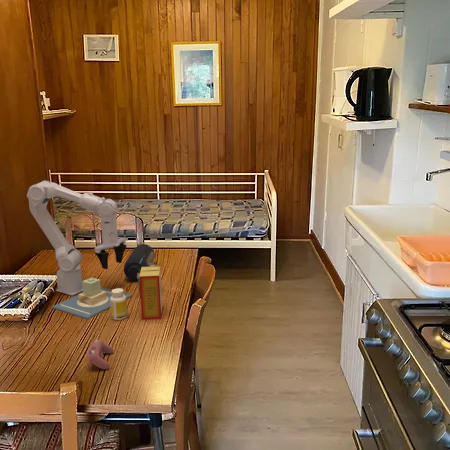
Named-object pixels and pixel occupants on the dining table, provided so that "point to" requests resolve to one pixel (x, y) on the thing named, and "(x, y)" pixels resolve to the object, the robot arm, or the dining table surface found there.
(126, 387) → the dining table surface
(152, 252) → the portable speaker
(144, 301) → the baking soda box
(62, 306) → the board
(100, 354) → the video game controller
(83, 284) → the sage block
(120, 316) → the supplement bottle
